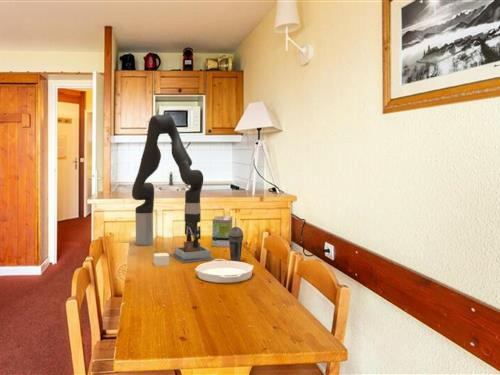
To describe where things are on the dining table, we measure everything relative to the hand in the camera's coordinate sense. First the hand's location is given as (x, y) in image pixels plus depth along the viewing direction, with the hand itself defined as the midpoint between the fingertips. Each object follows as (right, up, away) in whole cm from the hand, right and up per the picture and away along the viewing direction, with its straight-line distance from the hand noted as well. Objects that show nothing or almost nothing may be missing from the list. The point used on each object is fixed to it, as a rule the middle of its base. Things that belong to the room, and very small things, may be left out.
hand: (192, 245), depth 210 cm
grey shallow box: (0, -6, 0) cm, 6 cm away
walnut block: (0, -4, 0) cm, 4 cm away
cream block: (-12, -7, -13) cm, 19 cm away
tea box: (+12, -4, +32) cm, 34 cm away
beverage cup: (+21, -6, -4) cm, 22 cm away
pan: (+17, -9, -30) cm, 35 cm away
